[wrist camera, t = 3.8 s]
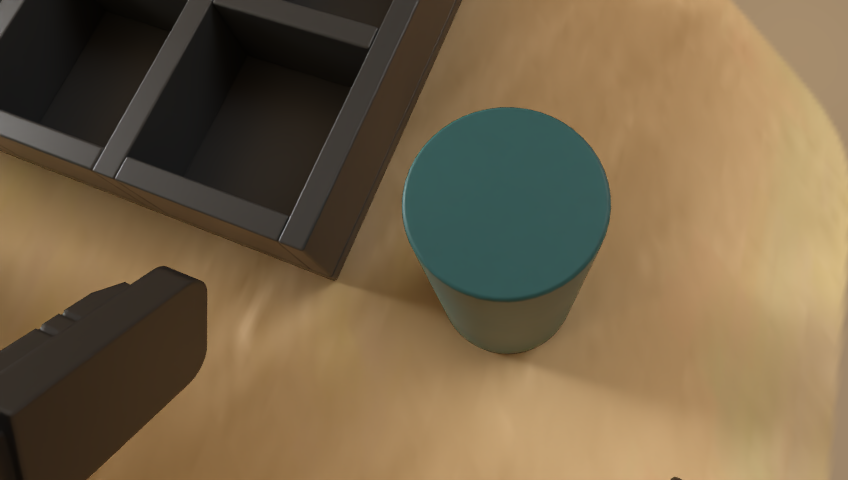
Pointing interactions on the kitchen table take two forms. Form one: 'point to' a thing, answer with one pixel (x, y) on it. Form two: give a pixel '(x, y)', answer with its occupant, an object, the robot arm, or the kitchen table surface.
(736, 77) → the kitchen table surface
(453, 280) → the cylinder
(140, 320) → the robot arm
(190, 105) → the grid
